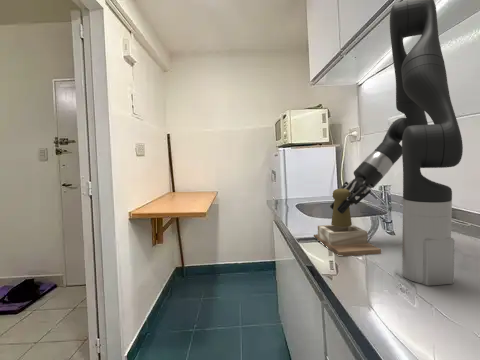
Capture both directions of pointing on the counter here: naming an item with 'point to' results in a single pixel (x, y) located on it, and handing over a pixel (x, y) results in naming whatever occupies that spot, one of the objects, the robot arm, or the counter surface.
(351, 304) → the counter surface
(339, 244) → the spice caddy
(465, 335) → the counter surface
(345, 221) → the cork
